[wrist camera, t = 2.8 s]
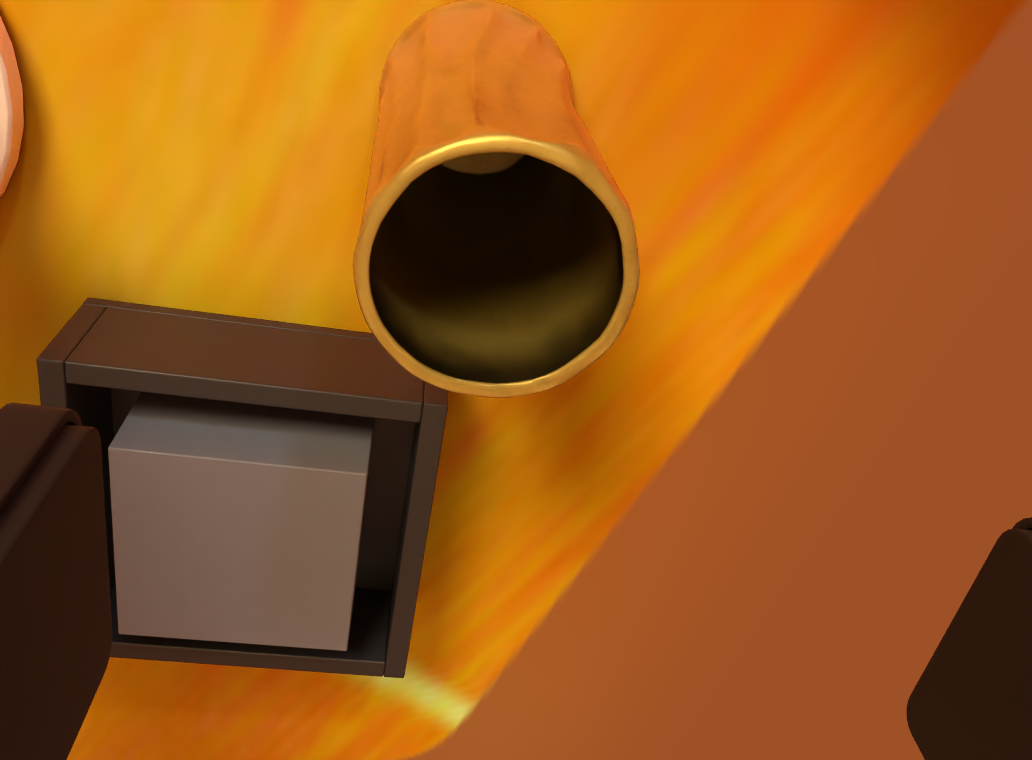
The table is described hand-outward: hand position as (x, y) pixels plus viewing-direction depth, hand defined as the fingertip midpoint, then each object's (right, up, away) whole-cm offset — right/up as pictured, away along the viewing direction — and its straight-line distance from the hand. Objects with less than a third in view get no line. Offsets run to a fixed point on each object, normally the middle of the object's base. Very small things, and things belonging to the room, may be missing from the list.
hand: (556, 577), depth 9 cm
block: (-10, -1, +25) cm, 27 cm away
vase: (-2, +11, +19) cm, 22 cm away
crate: (-10, -1, +26) cm, 27 cm away
